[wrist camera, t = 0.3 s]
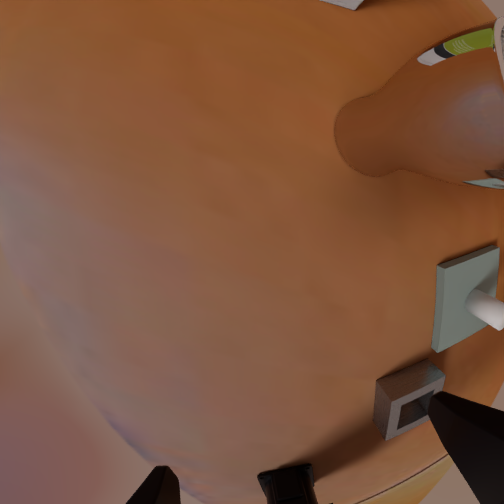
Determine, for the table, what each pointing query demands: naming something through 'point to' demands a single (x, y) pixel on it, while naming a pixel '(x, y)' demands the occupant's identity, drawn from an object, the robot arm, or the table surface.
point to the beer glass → (435, 114)
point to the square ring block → (405, 398)
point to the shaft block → (466, 297)
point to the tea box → (346, 3)
